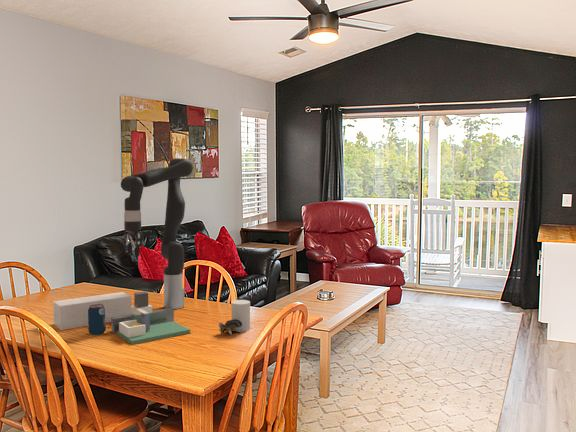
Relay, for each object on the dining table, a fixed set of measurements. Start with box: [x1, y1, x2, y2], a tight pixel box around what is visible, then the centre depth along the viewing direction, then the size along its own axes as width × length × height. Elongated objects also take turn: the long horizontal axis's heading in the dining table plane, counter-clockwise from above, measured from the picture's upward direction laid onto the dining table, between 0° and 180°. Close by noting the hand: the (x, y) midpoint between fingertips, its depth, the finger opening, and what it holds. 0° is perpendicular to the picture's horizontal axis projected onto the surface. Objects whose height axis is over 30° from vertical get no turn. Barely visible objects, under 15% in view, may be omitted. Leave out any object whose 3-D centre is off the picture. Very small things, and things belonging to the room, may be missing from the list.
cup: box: [231, 299, 251, 332], centre depth 242 cm, size 8×8×12 cm
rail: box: [110, 308, 175, 334], centre depth 245 cm, size 28×3×6 cm, turn 128°
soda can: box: [87, 304, 107, 337], centre depth 234 cm, size 7×7×12 cm
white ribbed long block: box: [52, 291, 132, 331], centre depth 253 cm, size 32×11×11 cm, turn 128°
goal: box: [119, 320, 146, 338], centre depth 230 cm, size 8×10×4 cm
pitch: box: [116, 320, 191, 346], centre depth 234 cm, size 26×16×2 cm, turn 128°
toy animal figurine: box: [218, 319, 242, 336], centre depth 235 cm, size 8×7×9 cm
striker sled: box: [131, 291, 153, 331], centre depth 240 cm, size 8×16×13 cm, turn 38°
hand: (133, 254), depth 256 cm, fingers open, 8 cm apart
